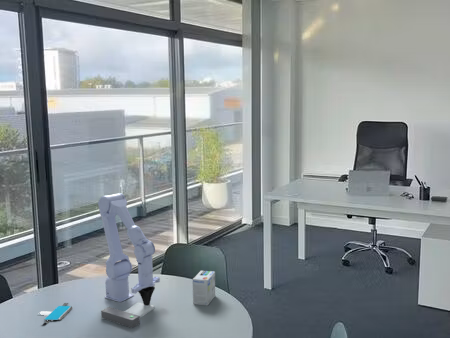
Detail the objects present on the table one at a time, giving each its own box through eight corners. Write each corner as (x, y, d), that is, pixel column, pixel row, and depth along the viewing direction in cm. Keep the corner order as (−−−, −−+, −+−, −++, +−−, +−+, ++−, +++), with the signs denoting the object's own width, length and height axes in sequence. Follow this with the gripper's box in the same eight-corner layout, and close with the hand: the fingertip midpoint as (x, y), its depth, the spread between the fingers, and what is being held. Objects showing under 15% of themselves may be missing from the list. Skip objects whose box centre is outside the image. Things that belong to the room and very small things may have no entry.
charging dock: (101, 318, 179) (101, 310, 179) (109, 314, 183) (109, 306, 182) (132, 328, 171) (132, 319, 170) (140, 323, 174) (139, 315, 174)
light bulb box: (200, 294, 201) (200, 269, 200) (215, 295, 199) (215, 271, 198) (192, 304, 191) (191, 278, 189) (208, 305, 189) (207, 280, 188)
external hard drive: (154, 309, 188) (135, 322, 177) (137, 306, 191) (118, 318, 180) (154, 305, 188) (135, 318, 177) (137, 302, 191) (118, 314, 180)
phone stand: (51, 304, 194) (50, 300, 194) (78, 305, 193) (78, 301, 193) (26, 326, 175) (25, 322, 174) (56, 327, 173) (56, 323, 173)
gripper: (140, 279, 179) (141, 313, 181) (164, 268, 191) (166, 300, 193) (126, 276, 183) (128, 309, 184) (151, 265, 195) (153, 296, 197)
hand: (146, 304), depth 189 cm, fingers closed, pressing on external hard drive
